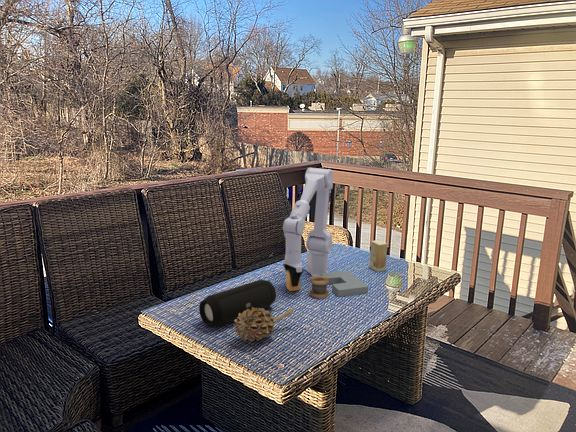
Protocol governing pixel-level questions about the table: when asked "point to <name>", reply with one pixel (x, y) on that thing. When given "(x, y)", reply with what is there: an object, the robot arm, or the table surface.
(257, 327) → the brown knobbly handled piece
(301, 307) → the table surface
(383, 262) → the skincare box
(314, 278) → the bobbin post
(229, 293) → the portable speaker
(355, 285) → the notched board
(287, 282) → the orange rectangular block
